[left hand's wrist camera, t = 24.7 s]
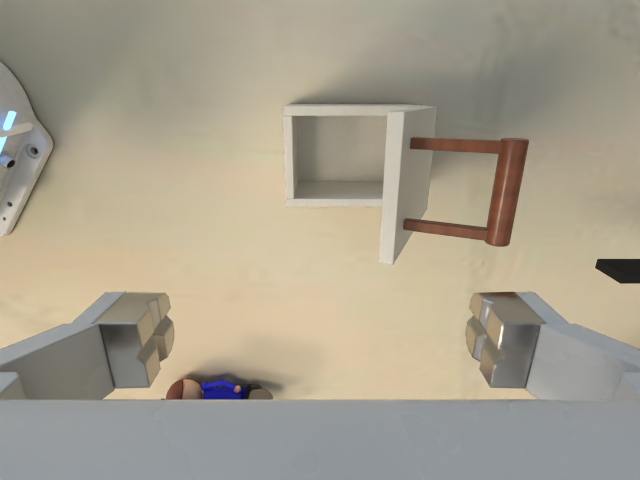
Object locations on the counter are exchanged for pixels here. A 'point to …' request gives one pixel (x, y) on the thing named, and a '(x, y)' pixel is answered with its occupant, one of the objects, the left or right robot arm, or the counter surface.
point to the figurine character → (215, 391)
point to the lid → (414, 178)
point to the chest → (335, 153)
